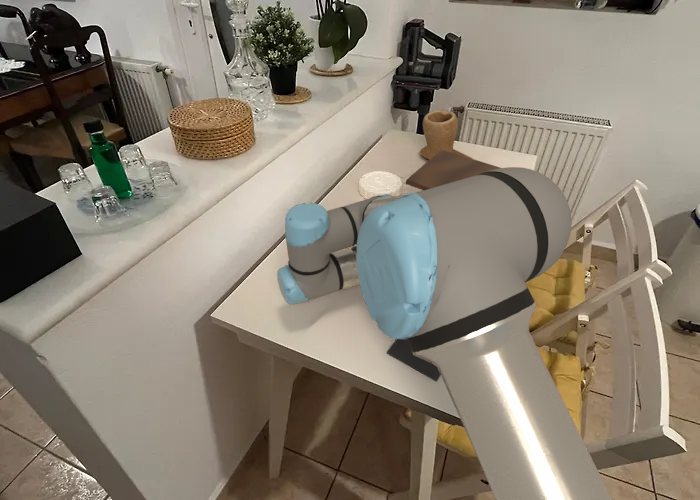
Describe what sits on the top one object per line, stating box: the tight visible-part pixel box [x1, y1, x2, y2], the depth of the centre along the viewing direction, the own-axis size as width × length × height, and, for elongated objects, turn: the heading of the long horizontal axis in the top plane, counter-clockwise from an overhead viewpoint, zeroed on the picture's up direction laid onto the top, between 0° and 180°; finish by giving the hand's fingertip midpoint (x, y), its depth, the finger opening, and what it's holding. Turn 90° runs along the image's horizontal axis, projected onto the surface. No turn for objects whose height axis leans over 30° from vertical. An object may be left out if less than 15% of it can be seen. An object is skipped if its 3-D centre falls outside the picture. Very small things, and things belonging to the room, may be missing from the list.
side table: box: [405, 150, 501, 191], centre depth 102 cm, size 18×18×15 cm
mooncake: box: [358, 170, 403, 200], centre depth 118 cm, size 12×12×4 cm
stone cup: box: [419, 109, 474, 161], centre depth 128 cm, size 15×12×15 cm
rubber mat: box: [386, 339, 441, 382], centre depth 79 cm, size 10×10×1 cm
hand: (444, 238), depth 93 cm, fingers open, 13 cm apart
